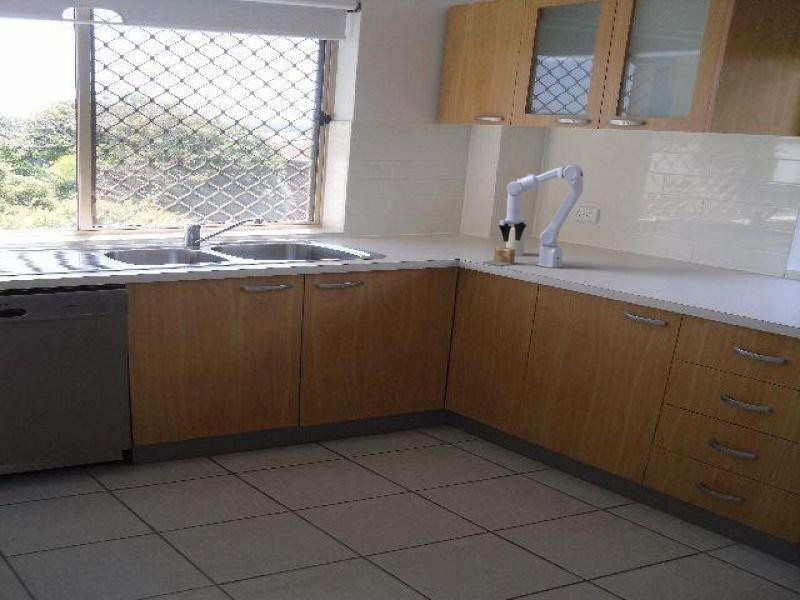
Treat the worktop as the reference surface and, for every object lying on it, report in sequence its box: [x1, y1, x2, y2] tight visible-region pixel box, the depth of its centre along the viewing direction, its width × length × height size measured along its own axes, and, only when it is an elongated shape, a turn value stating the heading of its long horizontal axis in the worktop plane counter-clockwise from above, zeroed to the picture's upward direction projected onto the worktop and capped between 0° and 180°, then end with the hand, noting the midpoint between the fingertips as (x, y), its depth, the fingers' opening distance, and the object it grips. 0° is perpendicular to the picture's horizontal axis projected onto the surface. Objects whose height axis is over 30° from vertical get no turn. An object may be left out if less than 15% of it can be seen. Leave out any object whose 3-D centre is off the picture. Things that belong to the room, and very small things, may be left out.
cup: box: [505, 227, 526, 257], centre depth 388 cm, size 8×8×12 cm
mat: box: [481, 260, 518, 267], centre depth 363 cm, size 10×11×1 cm
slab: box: [493, 246, 516, 264], centre depth 365 cm, size 9×3×6 cm, turn 40°
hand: (511, 240), depth 365 cm, fingers open, 7 cm apart
